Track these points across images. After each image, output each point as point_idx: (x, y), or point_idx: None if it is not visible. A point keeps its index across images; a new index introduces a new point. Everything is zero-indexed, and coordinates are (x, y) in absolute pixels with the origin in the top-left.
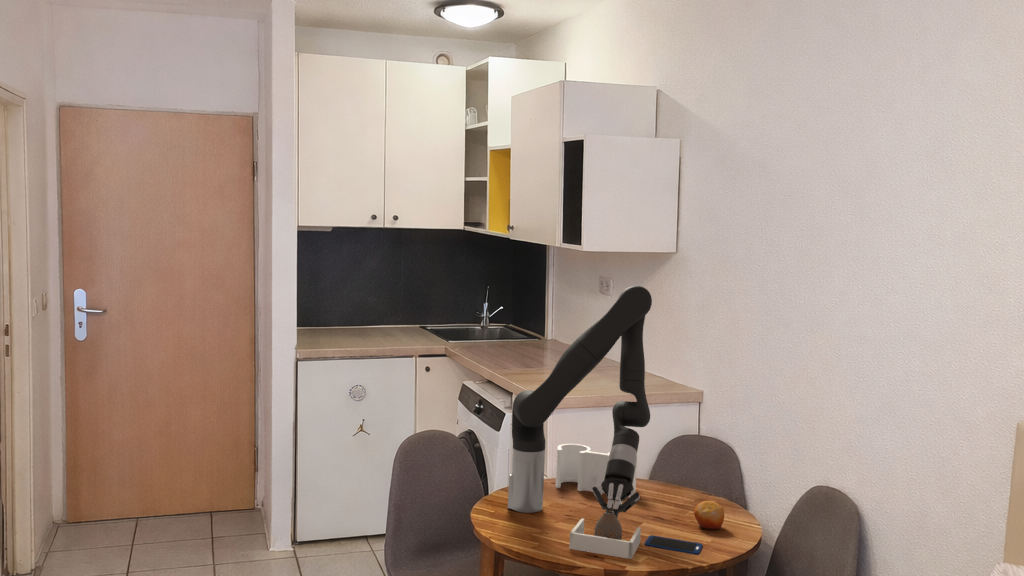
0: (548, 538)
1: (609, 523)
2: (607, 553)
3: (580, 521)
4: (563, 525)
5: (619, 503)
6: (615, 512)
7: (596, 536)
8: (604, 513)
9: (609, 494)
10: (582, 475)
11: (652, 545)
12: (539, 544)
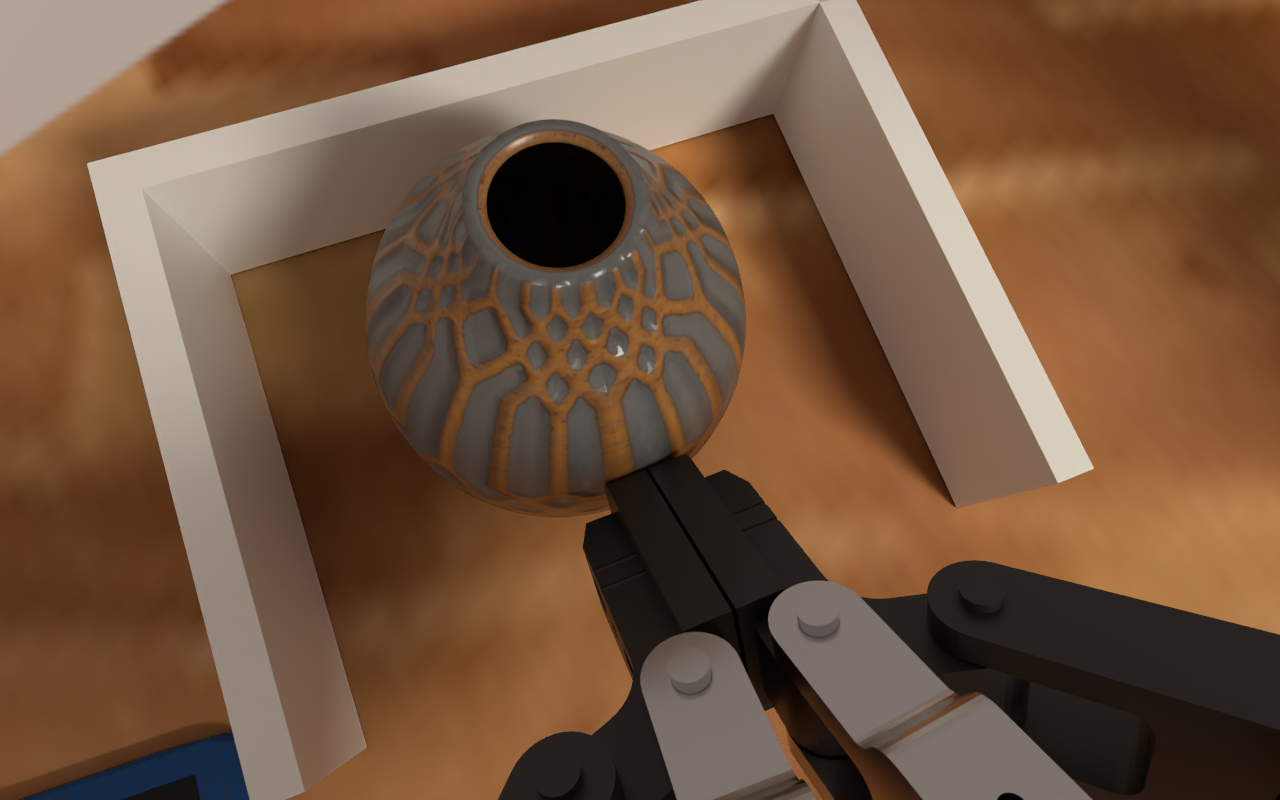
0: (1082, 161)
1: (471, 150)
2: None
3: (1018, 354)
4: (1263, 565)
5: (675, 793)
6: (658, 624)
7: (557, 62)
8: (613, 140)
9: (1043, 797)
10: None
11: (132, 765)
12: (1026, 3)
